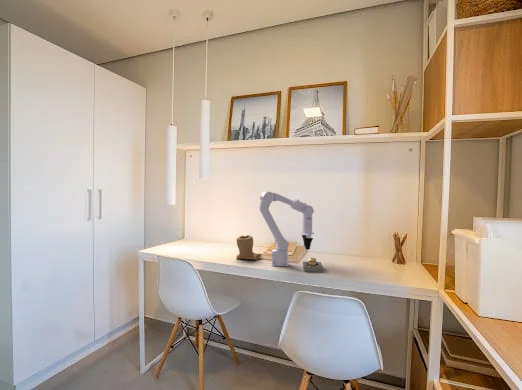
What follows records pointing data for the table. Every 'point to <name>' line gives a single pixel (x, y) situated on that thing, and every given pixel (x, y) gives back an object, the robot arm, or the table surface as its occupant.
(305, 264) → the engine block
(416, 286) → the table surface
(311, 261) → the piston
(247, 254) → the brown boot
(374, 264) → the table surface
